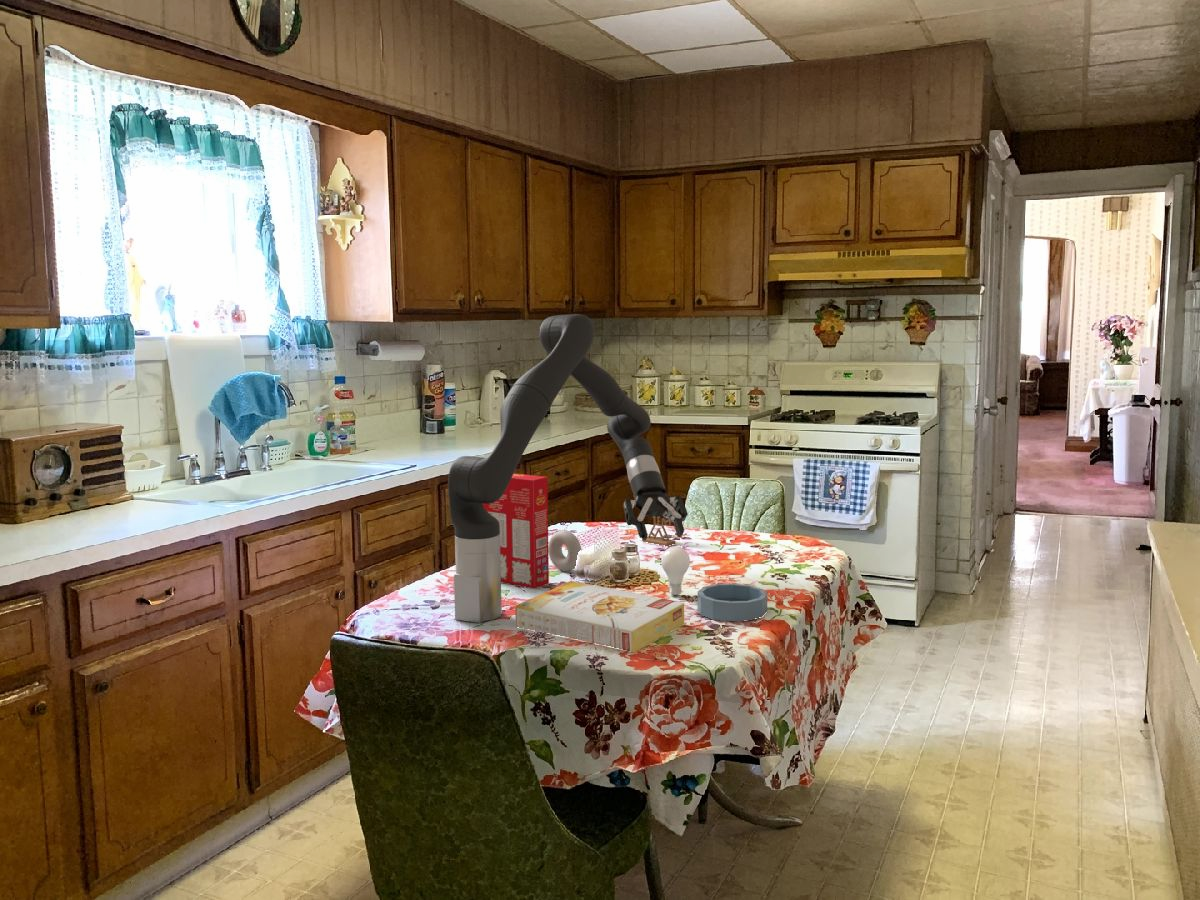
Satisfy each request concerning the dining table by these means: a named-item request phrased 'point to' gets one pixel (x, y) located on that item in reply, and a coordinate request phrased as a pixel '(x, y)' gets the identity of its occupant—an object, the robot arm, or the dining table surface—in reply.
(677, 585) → the lightbulb
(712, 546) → the dining table surface
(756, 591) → the bowl
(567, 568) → the donut
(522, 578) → the food packaging
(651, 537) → the gingerbread man figurine
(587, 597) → the cereal box
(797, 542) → the dining table surface
